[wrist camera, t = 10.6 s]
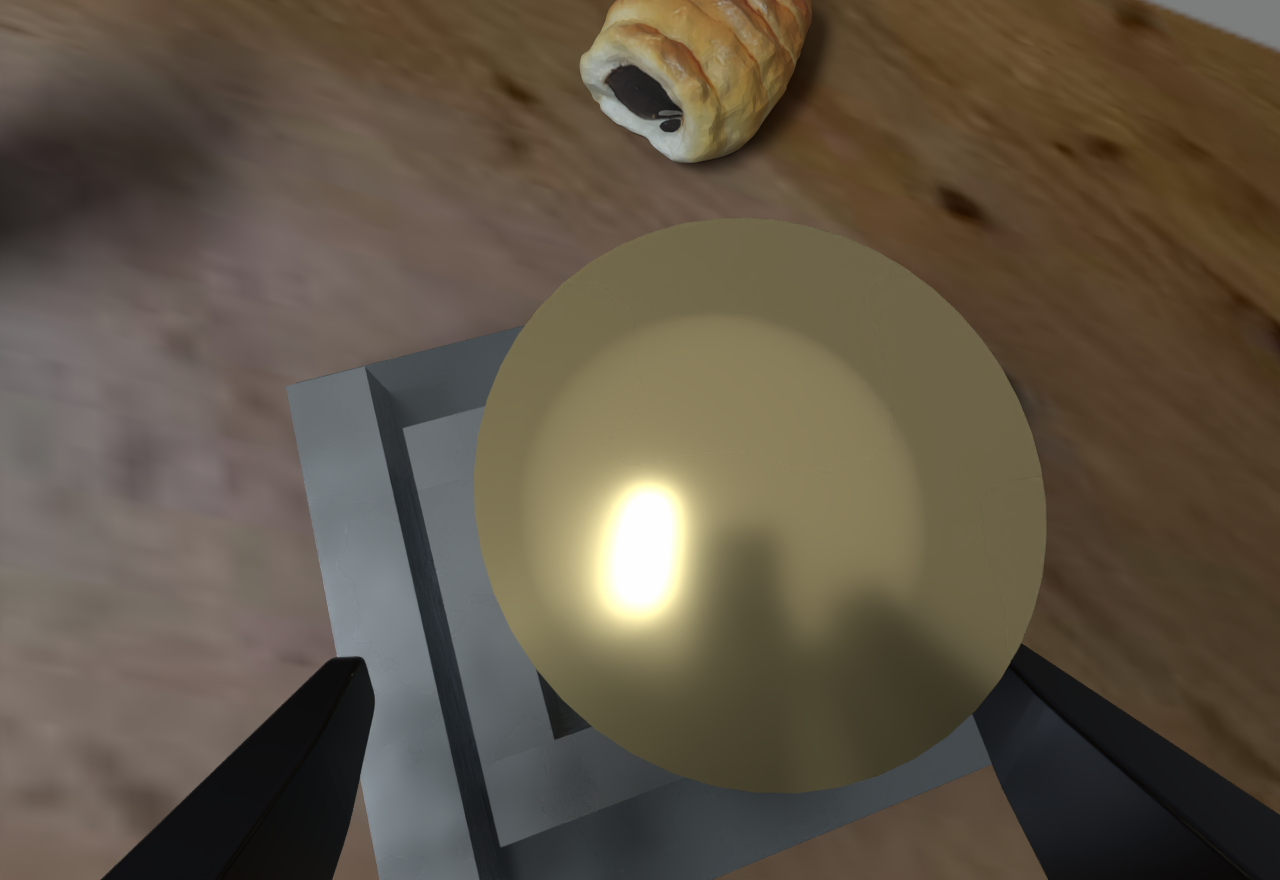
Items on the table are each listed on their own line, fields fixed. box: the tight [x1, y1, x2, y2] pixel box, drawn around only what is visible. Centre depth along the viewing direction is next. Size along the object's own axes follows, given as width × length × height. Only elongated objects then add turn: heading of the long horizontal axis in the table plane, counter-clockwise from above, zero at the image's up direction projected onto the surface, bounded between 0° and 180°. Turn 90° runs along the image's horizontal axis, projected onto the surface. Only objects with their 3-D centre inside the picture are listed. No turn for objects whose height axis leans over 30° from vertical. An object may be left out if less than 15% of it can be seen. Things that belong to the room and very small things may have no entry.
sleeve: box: [474, 218, 1047, 793], centre depth 11 cm, size 4×4×13 cm
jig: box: [286, 326, 992, 880], centre depth 16 cm, size 16×16×4 cm
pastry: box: [580, 0, 812, 163], centre depth 22 cm, size 9×7×4 cm
